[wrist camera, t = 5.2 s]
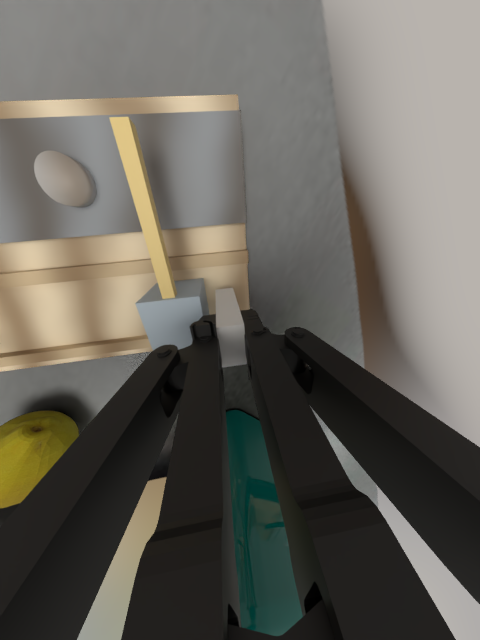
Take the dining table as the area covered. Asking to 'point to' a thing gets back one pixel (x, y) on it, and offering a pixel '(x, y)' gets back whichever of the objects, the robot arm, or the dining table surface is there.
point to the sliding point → (158, 256)
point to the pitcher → (259, 533)
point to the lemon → (31, 451)
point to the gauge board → (111, 220)
